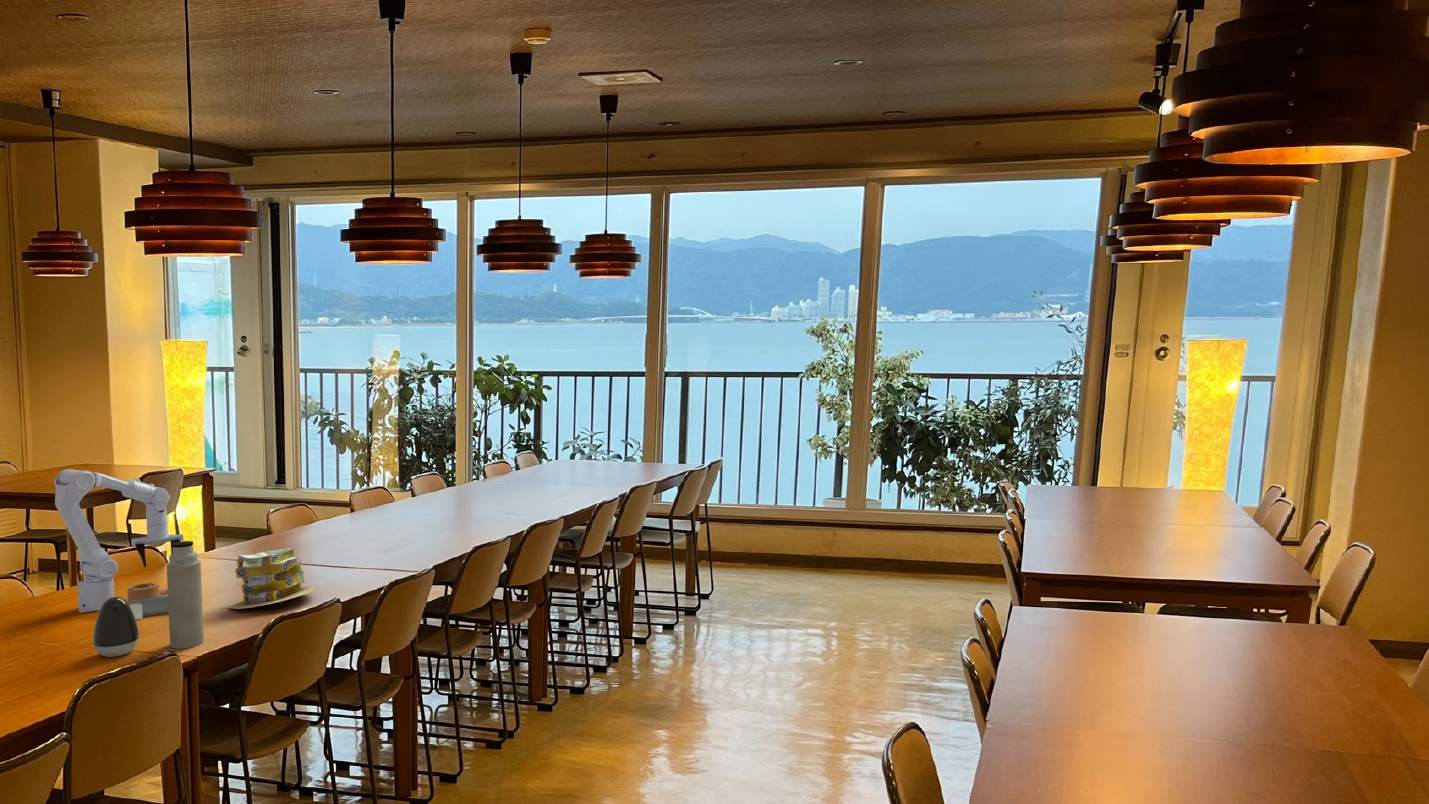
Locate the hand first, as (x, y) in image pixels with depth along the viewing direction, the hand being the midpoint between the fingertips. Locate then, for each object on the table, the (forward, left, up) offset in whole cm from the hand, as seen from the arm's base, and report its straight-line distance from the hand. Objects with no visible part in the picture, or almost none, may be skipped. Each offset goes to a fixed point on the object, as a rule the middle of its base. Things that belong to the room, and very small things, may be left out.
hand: (158, 564), depth 301 cm
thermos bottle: (+4, -64, -10) cm, 65 cm away
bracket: (-1, -13, -10) cm, 16 cm away
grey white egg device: (-12, -63, -10) cm, 65 cm away
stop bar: (0, -28, -9) cm, 30 cm away
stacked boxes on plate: (+29, -33, -10) cm, 45 cm away
